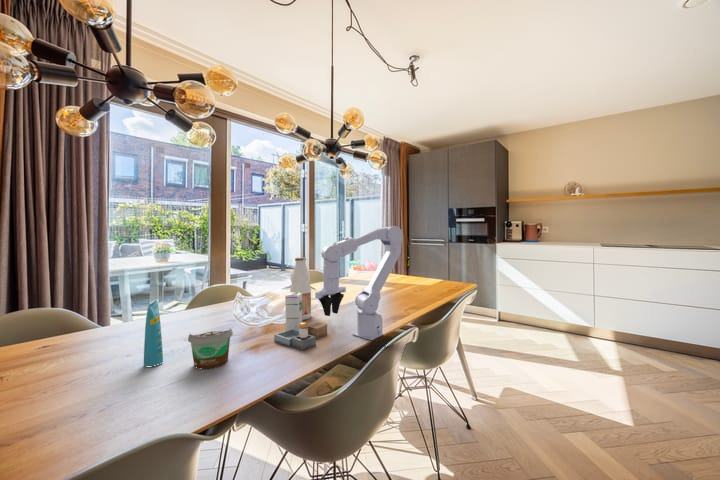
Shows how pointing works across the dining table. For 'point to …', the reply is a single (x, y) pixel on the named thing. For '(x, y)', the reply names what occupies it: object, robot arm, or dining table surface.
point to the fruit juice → (302, 285)
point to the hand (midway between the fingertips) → (331, 314)
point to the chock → (317, 329)
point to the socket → (303, 342)
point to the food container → (210, 348)
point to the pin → (303, 330)
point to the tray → (286, 336)
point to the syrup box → (293, 310)
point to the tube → (153, 336)
